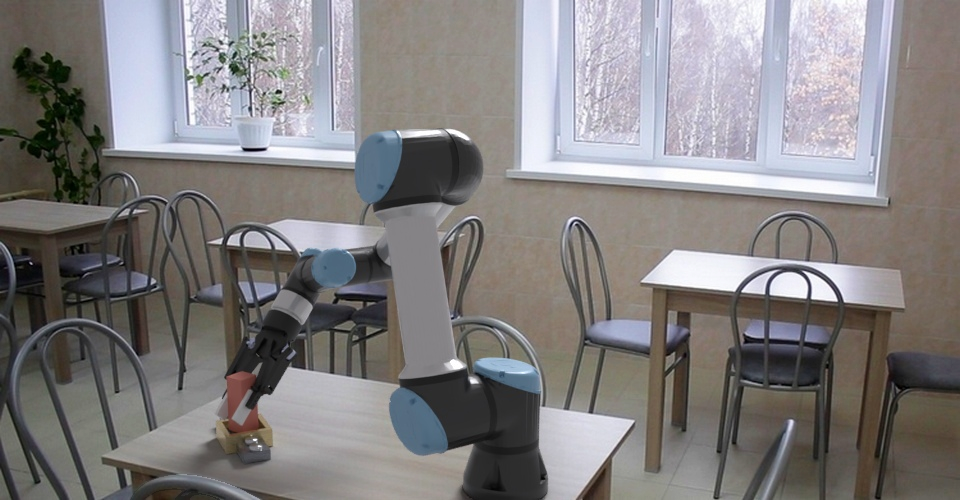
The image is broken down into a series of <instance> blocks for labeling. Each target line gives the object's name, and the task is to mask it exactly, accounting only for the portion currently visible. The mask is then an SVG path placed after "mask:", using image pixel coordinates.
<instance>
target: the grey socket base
mask: <svg viewBox="0 0 960 500" xmlns="http://www.w3.org/2000/svg"><path fill="white" fill-rule="evenodd" d="M258 426H259V428H257V429H255V430H252V431H246V432H240V433H237V432H234V431H231V430H229V419H228V416H227V418H226V420H222V419H221V418H219V420H215V431H216V432H215V434H216V435H215V437H216V439H217V441H218V442H219V444H220V446H221V448H222V449H223V451H224V453H225V454H226V455H229V454H235V453H237V455H238V456H239V458H240V460H241V461H242V463H243V464H244V465H246V464H252V463H257V462H263V461H269V460H271V459H272V457H271V455H272V454H271V452H272V451H271V448H270V447H273V446H274V439H273V434H274V433H273V428H272V426H271V425H270V423H268V422H267V420H266V418H265V417H264V416H263V414H262V413H258Z"/></svg>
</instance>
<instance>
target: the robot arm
mask: <svg viewBox="0 0 960 500" xmlns="http://www.w3.org/2000/svg"><path fill="white" fill-rule="evenodd" d="M354 162H355V163H354V183H355V185H354V186H355V187H356V188H355V189H356V192H357V194H359V195H358V196H359V198H360V199H361V200H362V201H363V202H365V203H367V204H369V205H372V209H373V216H374V217H376V218H377V219H379V220H380V221H381V222H382V223H383V225H384V230H385V231H384V232H383V234H382V235H381V237H380V238H379V239H378V240H377V241H376V243H375V244H374V245H370V246H362V247H361V246H359V247H353V248H342V247H341V248H340V247H333V248H329V249H328V248H327V249H324V250H322V249H319V248H316V247H315V248H314V247H308V248H306V249H305V250H304V251H303V252H302V254H301V255H300V257H299V258H297V260H296V262H295V265H294V267H293V268H292V271H290V274H289V275H288V277H287V279H286V281H285V283H284V284H283V286H282V287H281V290H279V293H278V294H277V296H276V298H274V301H273V303H272V304H271V306H270V307H271V309H269V310H268V311H267V313H266V315H265V317H264V319H263V320H262V322H261V330H260V331H259V332H258V333H257V334H256V335H255V336H254V337H250V338H249V336H247V335H245V336H243V338H242V341H241V345H240V348H239V349H238V351H237V352H236V355H235V357H234V358H233V359H232V362H231V363H230V366H229V367H228V369H227V371H226V372H225V375H224V377H223V378H224V380H226V381H227V378H226V377H227V376H230V375H232V374H235V373H238V372H241V371H244V372H247V373H251V374H253V372H254V371H255V369H257V367H258V366H259V364H261V366H260V367H259V370H258V373H257V374H256V381H255V383H254V386H251V389H252V390H253V391H252V390H250V389H248V391H247V392H246V394H245V396H244V398H243V399H242V401H241V403H240V405H239V406H238V408H237V410H236V412H235V413H234V415H233V417H232V420H234V421H235V422H236V423H237V424H239V425H241V426H242V425H243V423H244V422H245V420H246V418H247V416H248V415H249V413H250V411H251V410H253V409H254V408H255V406H256V404H257V403H259V401H260V400H261V397H263V396H265V395H268V396H271V395H273V394H274V392H275V390H276V388H277V386H278V384H279V383H280V382H281V379H283V376H284V375H285V372H286V371H287V370H288V368H289V366H290V364H291V363H292V362H293V361H294V360H295V359H296V358H297V357H298V353H297V351H295V350H294V349H293V348H292V347H291V344H292V343H294V342H295V341H296V339H297V337H298V336H299V334H300V332H301V331H302V326H303V325H304V324H305V323H306V321H307V319H308V318H309V315H310V314H311V312H312V310H313V309H314V307H315V305H316V303H317V301H318V299H319V298H320V297H321V295H322V293H325V292H327V291H330V290H334V289H341V288H346V287H353V286H354V287H355V286H360V285H365V284H367V285H368V284H373V283H380V282H381V283H382V282H388V281H389V282H390V281H391V282H392V283H393V289H394V296H395V302H396V308H397V309H396V310H397V317H398V323H399V328H400V329H399V330H400V334H401V335H400V336H401V343H402V350H403V355H404V362H405V363H404V364H405V366H404V368H403V369H402V370H401V372H400V373H399V374H398V376H397V377H398V382H399V383H398V384H399V387H398V388H396V389H395V390H394V391H392V393H391V395H390V397H389V402H388V411H389V417H390V420H391V424H392V427H393V430H394V432H395V435H396V436H397V437H398V439H399V441H400V442H401V443H402V444H403V446H404V448H406V449H407V450H408V451H409V452H411V453H412V454H413V455H416V456H421V457H424V456H425V457H426V456H431V455H436V454H439V455H441V454H444V453H446V452H447V451H452V450H456V449H459V448H463V447H467V446H470V445H471V446H472V448H471V451H470V454H469V457H468V460H467V463H466V466H465V469H464V471H463V475H462V488H463V491H464V493H465V494H466V495H467V496H469V498H471V499H473V500H540V499H542V498H543V497H544V496H546V494H547V493H548V490H549V473H548V471H547V468H546V465H545V462H544V459H543V458H544V457H543V455H542V453H541V449H540V410H541V408H540V406H541V394H542V389H541V377H540V373H539V371H538V369H537V368H536V367H534V365H531V364H529V363H527V362H524V361H521V360H517V359H513V358H507V357H505V358H504V357H482V358H478V359H477V360H475V362H474V363H473V366H472V371H473V372H472V373H469V372H468V365H467V364H466V363H465V362H464V361H462V360H461V359H459V358H458V356H457V353H456V352H457V351H456V345H455V339H454V331H453V325H452V319H451V313H450V307H449V306H450V305H449V299H448V293H447V286H446V280H445V273H444V266H443V259H442V253H441V248H440V241H439V240H440V239H439V234H438V228H439V226H441V224H443V222H444V221H445V219H447V217H448V216H449V215H450V214H451V213H452V212H453V210H454V209H455V208H456V207H460V206H463V205H465V204H466V203H467V202H468V201H469V200H470V199H471V198H472V197H473V195H474V194H475V192H477V190H478V188H479V186H480V185H481V182H482V180H483V175H484V160H483V156H482V152H481V151H480V148H479V147H478V145H477V144H476V142H475V141H473V139H472V138H471V137H469V136H468V135H467V134H466V133H464V132H462V131H460V130H457V129H454V128H449V127H438V128H420V129H419V128H411V129H391V130H389V129H388V130H384V131H383V130H382V131H377V132H373V133H371V134H369V135H368V136H366V137H365V139H364V140H363V141H362V142H361V144H360V147H359V148H358V152H357V153H356V157H355V161H354ZM214 415H215V416H217V417H218V418H219V419H220V418H221V419H222V420H226V418H227V416H228V397H227V388H226V389H225V390H224V392H223V394H222V396H221V401H220V403H219V405H218V406H217V408H216V410H215V412H214Z"/></svg>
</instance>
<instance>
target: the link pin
mask: <svg viewBox="0 0 960 500" xmlns="http://www.w3.org/2000/svg"><path fill="white" fill-rule="evenodd" d="M226 378H227V380H226V389H227V397H228V419H229V430H231V431H234V432H237V433H240V432H246V431H252V430H255V429H257V428H259V426H258V414H259V408H258V407H259V406H258V403H259V402H258V403H257V404H256V406H255V408H254V409H253V410H251V411H250V413H249V415H248V416H247V418H246V420H245V422H244V423H243V425H242V426H241V425H239V424H237V423H236V422H235V421H234V420H232V417H233V415H234V413H235V412H236V410H237V408H238V406H239V405H240V403H241V401H242V399H243V398H244V396H245V394H246V392H247V391H248V389H250V390H252V389H251V386H254V383H255V381H256V378H257V374H254V373H247V372H244V371H241V372H238V373H235V374H232V375H230V376H227V377H226ZM252 391H253V390H252Z"/></svg>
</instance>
